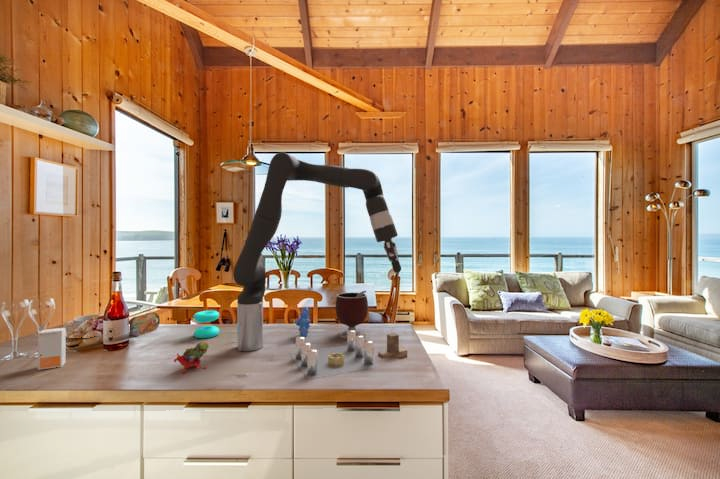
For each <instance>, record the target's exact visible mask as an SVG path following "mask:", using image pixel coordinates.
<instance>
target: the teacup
mask: <svg viewBox="0 0 720 479" xmlns="http://www.w3.org/2000/svg"><path fill="white" fill-rule="evenodd" d="M97 315H98V314H87V315H80V316H76V317H74V318H73V319H72V320H69V321H65V322H64V324H63V326H62V328H66V333H67V332H68V333H71V332H70V331H73V330H75V329H77V328H78V326H79V325H80V324H82V323H83V322H85V321H86V320H89V319H91V318H93V317H95V316H97ZM69 324H71V325H72V327H73V328H72V329H69V328H67V326H68V325H69Z"/></svg>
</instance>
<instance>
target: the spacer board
mask: <svg viewBox="0 0 720 479" xmlns="http://www.w3.org/2000/svg"><path fill="white" fill-rule="evenodd" d="M316 349H317V374H316V375H312V376H311V375H308V374H307V367H302V366H301V360H297V359H296V352H291V353H288V354H289V356H290V357H291V359H292V361H293V362H294V363H295V365H297V367H298V369H299V370H300V371H301V373H303V375H304V377H305V378H306V380H307V381H312V380H317V379H321V378H328V377H332V376H338V375H343V374H344V375H345V374H347V373H349V374H350V373H353V372H359V371H364V370H365V371H366V370H369V369H370V370H371V369H375V368H381V367H382V366H381V365H380V364H379V363H377V362H376V361H374V360H373V364H372V365H365V364H364V357H362V358H357V357H355V351H348V350H347V344H345V345H338V346H337V345H336V346H331V347H325V348H316ZM332 353H342V354H345V362H344V365H342V366H336V367H334V366H331V365H328V356H329V354H332Z"/></svg>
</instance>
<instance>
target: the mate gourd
mask: <svg viewBox="0 0 720 479" xmlns="http://www.w3.org/2000/svg"><path fill="white" fill-rule="evenodd" d="M366 293H367V290H363V291H361V292H342V293H337V295H336V300H335V313H336V314H335V315H336V318H337V320H338V321H339V322H340V324H341V325H345V326H347V327H348V328H347V329H342V330H339V331H337V336H338V337H339V338H342V339H346V340H347V331H348V330H355V331H356V335H363V336H364V337H366V336H367V332H366V331H365V330H363V329H357V328H356V327H357V326H359V325H361V324H363V323H364V322H365V320H366V319H367V316H368V312H369V311H368V310H369V302H368V298H367V297H368V296H367V294H366Z"/></svg>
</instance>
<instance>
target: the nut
mask: <svg viewBox="0 0 720 479" xmlns="http://www.w3.org/2000/svg"><path fill="white" fill-rule="evenodd" d="M344 362H345V354H342V353H332V354H329V356H328V365H331V366H334V367H336V366H342V365H344Z"/></svg>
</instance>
